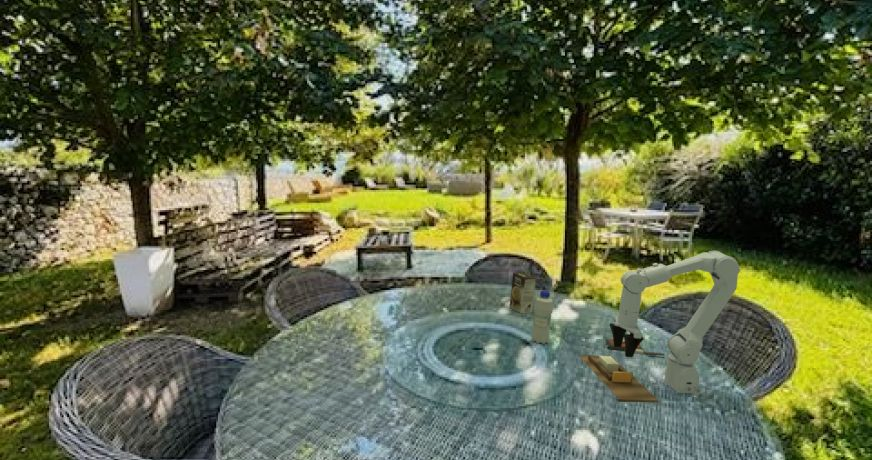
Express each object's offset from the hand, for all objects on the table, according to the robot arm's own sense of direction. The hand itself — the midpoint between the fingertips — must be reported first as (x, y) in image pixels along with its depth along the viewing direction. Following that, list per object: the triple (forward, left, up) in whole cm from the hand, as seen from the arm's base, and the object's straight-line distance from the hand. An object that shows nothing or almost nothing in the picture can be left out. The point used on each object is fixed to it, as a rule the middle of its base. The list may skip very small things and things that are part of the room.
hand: (622, 351), depth 153 cm
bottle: (+28, +17, -10) cm, 34 cm away
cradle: (+1, +1, -9) cm, 10 cm away
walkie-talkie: (+23, -17, -10) cm, 30 cm away
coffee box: (+65, +14, -10) cm, 67 cm away
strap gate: (-4, +1, -8) cm, 9 cm away
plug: (+6, +1, -9) cm, 11 cm away
